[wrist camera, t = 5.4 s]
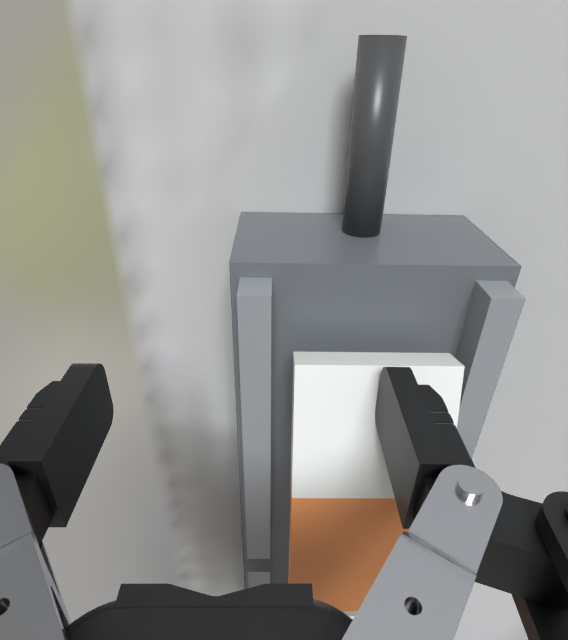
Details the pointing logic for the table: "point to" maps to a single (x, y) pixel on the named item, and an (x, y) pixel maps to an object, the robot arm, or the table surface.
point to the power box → (355, 304)
